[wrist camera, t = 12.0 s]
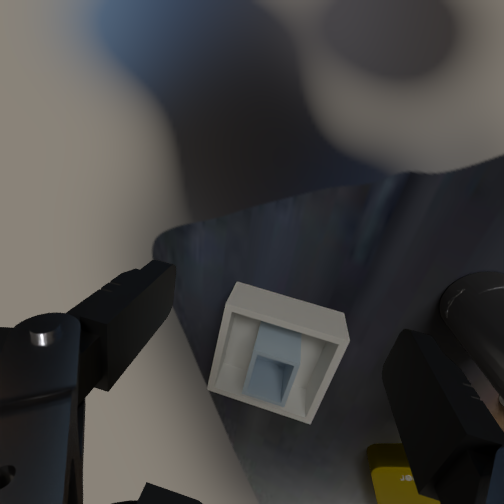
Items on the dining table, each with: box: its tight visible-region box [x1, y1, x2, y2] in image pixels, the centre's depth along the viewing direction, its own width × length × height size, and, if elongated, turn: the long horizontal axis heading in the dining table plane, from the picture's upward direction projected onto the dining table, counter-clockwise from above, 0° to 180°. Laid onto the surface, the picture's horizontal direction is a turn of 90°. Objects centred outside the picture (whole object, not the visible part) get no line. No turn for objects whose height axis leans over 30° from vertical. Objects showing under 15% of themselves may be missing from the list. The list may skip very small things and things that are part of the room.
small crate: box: [242, 321, 301, 407], centre depth 39 cm, size 6×8×7 cm
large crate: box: [207, 282, 350, 424], centre depth 40 cm, size 16×16×6 cm
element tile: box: [367, 443, 440, 504], centre depth 46 cm, size 15×15×5 cm
